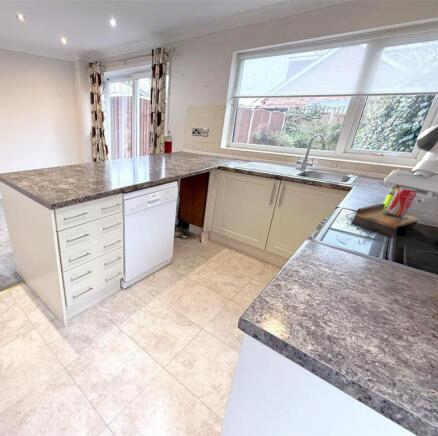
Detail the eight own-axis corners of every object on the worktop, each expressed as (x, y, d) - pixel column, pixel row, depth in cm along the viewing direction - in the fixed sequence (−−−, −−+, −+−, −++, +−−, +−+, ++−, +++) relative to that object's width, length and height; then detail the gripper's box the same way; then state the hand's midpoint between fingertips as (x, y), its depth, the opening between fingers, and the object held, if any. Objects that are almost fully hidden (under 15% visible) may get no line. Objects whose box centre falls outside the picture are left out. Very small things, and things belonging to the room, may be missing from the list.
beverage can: (383, 210, 112) (396, 185, 107) (401, 214, 109) (415, 188, 104) (387, 215, 107) (400, 188, 102) (406, 218, 104) (420, 191, 99)
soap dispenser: (397, 210, 130) (416, 173, 122) (381, 206, 135) (398, 170, 127) (400, 208, 133) (419, 172, 125) (384, 204, 138) (401, 169, 130)
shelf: (413, 228, 108) (421, 214, 106) (390, 236, 99) (398, 221, 96) (376, 216, 120) (382, 203, 117) (351, 222, 110) (358, 208, 108)
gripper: (394, 163, 112) (375, 186, 111) (461, 174, 95) (438, 200, 95) (394, 172, 115) (375, 194, 115) (459, 184, 99) (436, 209, 98)
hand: (404, 197), depth 105 cm, fingers open, 8 cm apart
